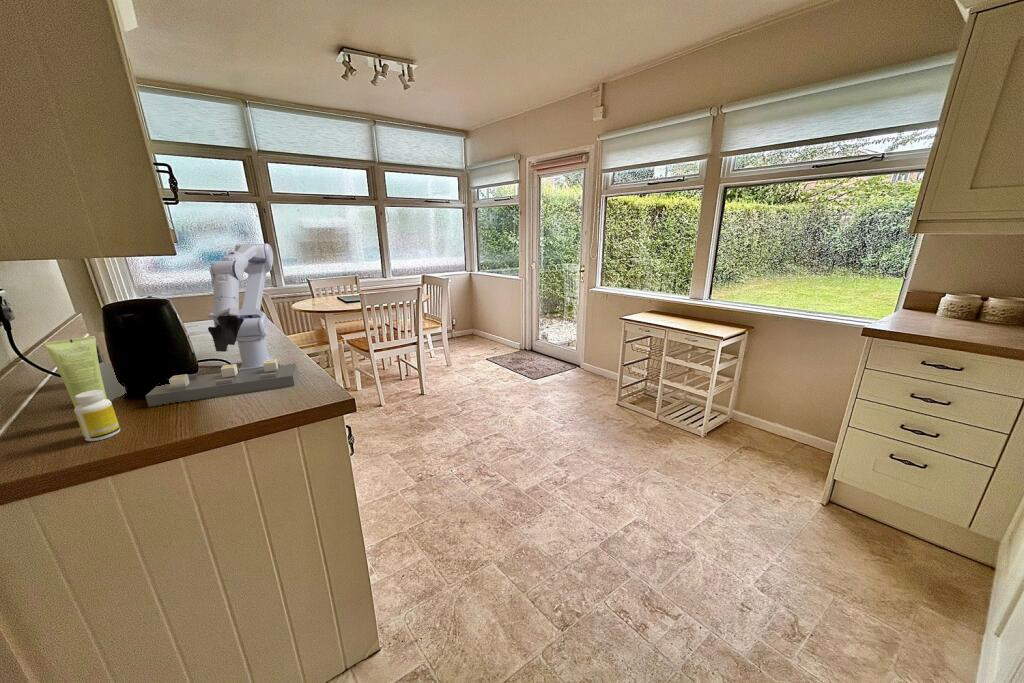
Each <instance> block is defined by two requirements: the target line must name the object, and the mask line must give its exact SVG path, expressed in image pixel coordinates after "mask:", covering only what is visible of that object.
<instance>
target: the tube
mask: <svg viewBox="0 0 1024 683" xmlns="http://www.w3.org/2000/svg"><path fill="white" fill-rule="evenodd" d="M43 345H44V348H45V349H46V351H47V352H48V354H49V356H50V357H51V359H52V361H53V363H54V365H55V367H56V369H57V370H58V374H60V377H61V379H62V381H63V383H64V386H65V388H66V390H67V392H68V394H69V397H70V399H71V402H72V405H73V407H74V408H75V407H76V406H78V405H79V403H77V402H76V399H75V396H76V395H78V394H80V393H83V392H87V391H92V390H102V391H103V393H104V399H107V397H106V393H105V389H104V385H103V381H102V376H101V372H100V367H99V361H98V356H97V349H96V345H97V340H96V336H95V335H92V336H91V335H90V336H86V337H83V336H82V337H78V338H77V337H76V338H71V339H70V338H69V339H63V340H62V339H61V340H55V341H47V342H43Z"/></svg>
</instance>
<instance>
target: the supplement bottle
mask: <svg viewBox="0 0 1024 683" xmlns="http://www.w3.org/2000/svg"><path fill="white" fill-rule="evenodd" d="M75 399H76V402H77V403H79V405H78V406H76V407H74V409H73V411H74V413H75V414H74V415H75V416H76V419H77V422H78V426H79V428H80V430H81V433H82V436H83V438H84V440H85V441H86V442H96V441H102V440H105V439H108V438H111V437H113V436H116V435H117V434H119V432H121V427H120V423H119V420H118V418H117V414H116V412H115V409H114V406H113V403H112V401H110V400H108V399H104V393H103V391H102V390H92V391H87V392H83V393H80V394H78V395H76V396H75Z"/></svg>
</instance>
